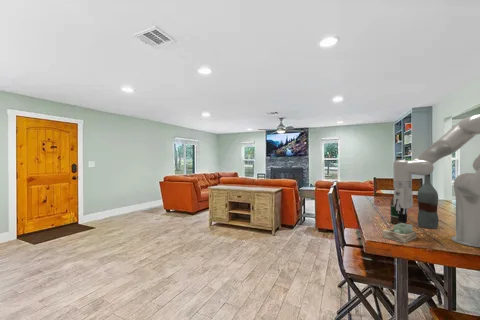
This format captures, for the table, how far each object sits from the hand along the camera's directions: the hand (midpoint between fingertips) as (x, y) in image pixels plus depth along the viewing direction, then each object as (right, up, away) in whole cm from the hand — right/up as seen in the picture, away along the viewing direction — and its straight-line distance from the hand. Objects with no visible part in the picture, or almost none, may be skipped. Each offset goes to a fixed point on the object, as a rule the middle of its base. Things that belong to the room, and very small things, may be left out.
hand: (402, 221), depth 115 cm
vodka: (+25, -7, +16) cm, 31 cm away
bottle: (+4, -4, +2) cm, 6 cm away
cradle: (-3, -7, -2) cm, 8 cm away
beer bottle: (+13, -7, +22) cm, 27 cm away
